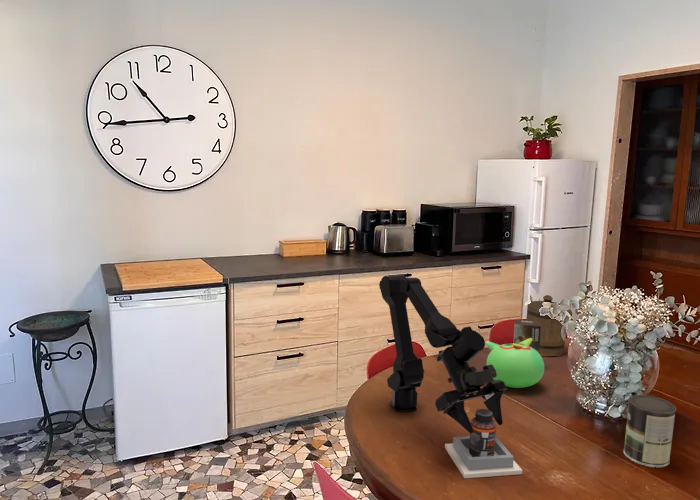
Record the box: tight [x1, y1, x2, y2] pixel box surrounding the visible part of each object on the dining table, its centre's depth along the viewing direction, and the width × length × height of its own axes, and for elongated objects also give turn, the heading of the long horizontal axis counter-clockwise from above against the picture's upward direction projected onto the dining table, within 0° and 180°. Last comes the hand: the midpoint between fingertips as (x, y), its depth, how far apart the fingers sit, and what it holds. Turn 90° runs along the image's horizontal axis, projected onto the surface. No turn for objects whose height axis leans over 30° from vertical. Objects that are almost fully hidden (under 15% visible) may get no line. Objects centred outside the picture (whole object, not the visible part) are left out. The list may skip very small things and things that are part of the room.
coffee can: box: [622, 394, 677, 469], centre depth 137 cm, size 10×10×14 cm
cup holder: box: [444, 435, 523, 479], centre depth 134 cm, size 14×14×4 cm
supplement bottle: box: [469, 408, 497, 457], centre depth 134 cm, size 6×6×11 cm
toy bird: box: [485, 338, 545, 389], centre depth 180 cm, size 18×17×15 cm
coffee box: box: [513, 319, 541, 354], centre depth 198 cm, size 9×6×16 cm
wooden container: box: [525, 294, 567, 357], centre depth 214 cm, size 15×15×22 cm
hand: (486, 428), depth 132 cm, fingers open, 9 cm apart
